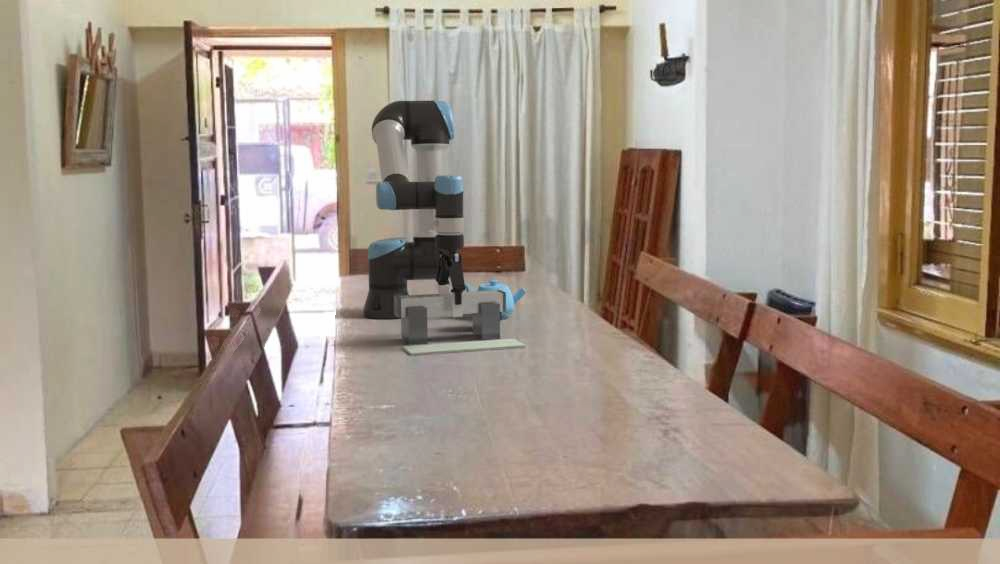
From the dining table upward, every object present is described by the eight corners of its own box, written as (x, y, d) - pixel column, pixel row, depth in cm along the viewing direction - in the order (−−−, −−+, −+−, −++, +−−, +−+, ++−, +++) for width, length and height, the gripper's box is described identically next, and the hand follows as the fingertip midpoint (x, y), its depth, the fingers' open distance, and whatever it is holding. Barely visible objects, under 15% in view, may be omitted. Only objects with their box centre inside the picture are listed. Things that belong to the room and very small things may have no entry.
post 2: (472, 333, 276) (472, 299, 275) (489, 332, 278) (489, 298, 277) (482, 339, 268) (482, 304, 267) (500, 338, 269) (499, 303, 268)
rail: (398, 317, 262) (397, 298, 261) (394, 314, 267) (393, 295, 266) (505, 311, 271) (505, 292, 270) (499, 308, 276) (499, 289, 275)
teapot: (493, 323, 292) (493, 285, 290) (460, 318, 301) (459, 280, 300) (528, 316, 303) (528, 279, 302) (494, 311, 312) (494, 275, 311)
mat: (403, 348, 257) (403, 346, 257) (513, 340, 266) (513, 338, 266) (411, 355, 249) (411, 353, 249) (525, 347, 258) (525, 345, 258)
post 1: (401, 338, 270) (400, 303, 269) (419, 337, 272) (418, 302, 270) (409, 344, 262) (408, 309, 260) (427, 343, 263) (427, 307, 262)
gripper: (424, 230, 276) (425, 306, 279) (448, 238, 253) (449, 321, 256) (450, 229, 279) (451, 305, 282) (476, 237, 255) (477, 319, 258)
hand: (450, 312), depth 269 cm, fingers open, 13 cm apart
